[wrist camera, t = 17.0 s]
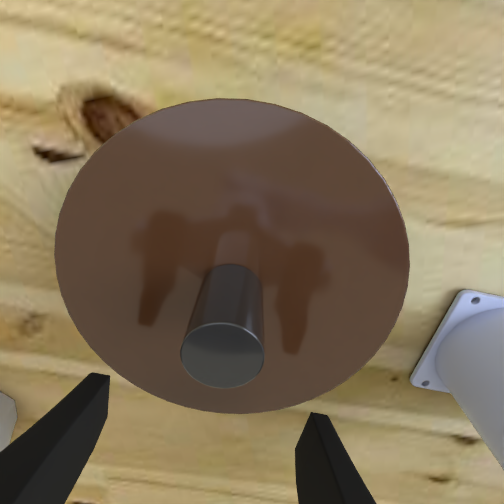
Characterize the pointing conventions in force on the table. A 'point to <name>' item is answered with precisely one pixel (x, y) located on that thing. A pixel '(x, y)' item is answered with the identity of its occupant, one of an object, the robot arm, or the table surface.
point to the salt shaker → (6, 419)
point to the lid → (232, 256)
